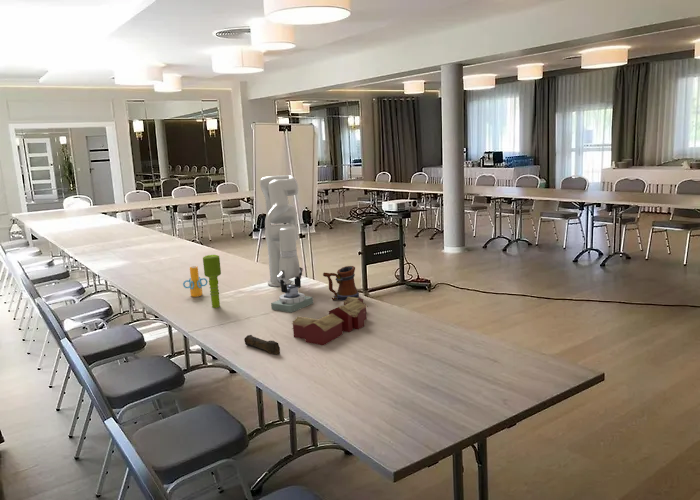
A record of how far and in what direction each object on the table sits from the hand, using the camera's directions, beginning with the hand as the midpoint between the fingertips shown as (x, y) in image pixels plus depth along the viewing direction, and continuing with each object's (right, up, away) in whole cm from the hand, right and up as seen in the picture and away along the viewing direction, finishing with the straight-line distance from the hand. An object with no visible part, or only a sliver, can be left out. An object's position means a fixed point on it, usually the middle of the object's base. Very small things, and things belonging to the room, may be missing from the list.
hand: (291, 289), depth 270 cm
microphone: (-37, -9, +7) cm, 38 cm away
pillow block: (+1, -8, +1) cm, 8 cm away
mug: (+23, -5, +10) cm, 26 cm away
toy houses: (+23, -13, -29) cm, 39 cm away
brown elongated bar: (-5, -19, -52) cm, 56 cm away
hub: (0, -5, +1) cm, 5 cm away
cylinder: (-52, -5, +29) cm, 60 cm away
